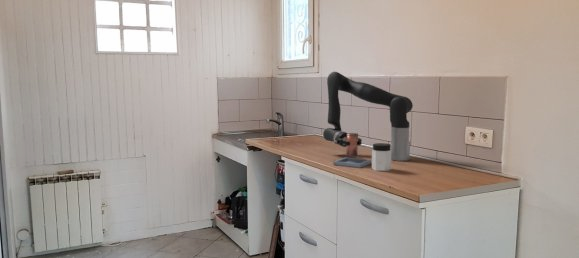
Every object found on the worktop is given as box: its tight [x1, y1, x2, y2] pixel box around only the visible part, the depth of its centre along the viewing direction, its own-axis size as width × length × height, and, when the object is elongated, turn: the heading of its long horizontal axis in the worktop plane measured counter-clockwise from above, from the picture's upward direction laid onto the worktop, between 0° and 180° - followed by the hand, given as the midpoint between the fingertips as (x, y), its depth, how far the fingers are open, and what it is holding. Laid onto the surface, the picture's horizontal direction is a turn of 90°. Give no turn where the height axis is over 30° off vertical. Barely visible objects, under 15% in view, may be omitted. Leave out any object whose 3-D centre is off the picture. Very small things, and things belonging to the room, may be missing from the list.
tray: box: [333, 156, 372, 169], centre depth 221 cm, size 14×14×2 cm
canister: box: [345, 132, 359, 158], centre depth 221 cm, size 6×6×11 cm
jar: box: [371, 142, 392, 172], centre depth 208 cm, size 9×8×12 cm
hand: (354, 143), depth 218 cm, fingers closed on canister, 5 cm apart
